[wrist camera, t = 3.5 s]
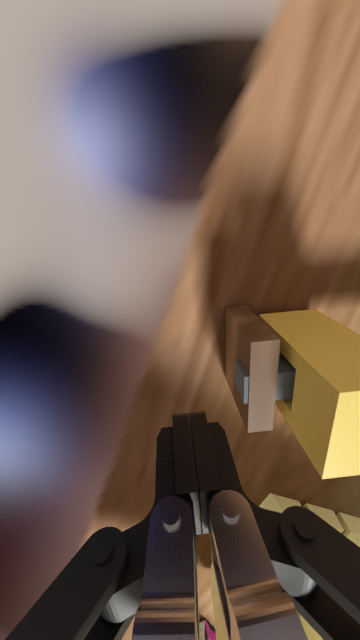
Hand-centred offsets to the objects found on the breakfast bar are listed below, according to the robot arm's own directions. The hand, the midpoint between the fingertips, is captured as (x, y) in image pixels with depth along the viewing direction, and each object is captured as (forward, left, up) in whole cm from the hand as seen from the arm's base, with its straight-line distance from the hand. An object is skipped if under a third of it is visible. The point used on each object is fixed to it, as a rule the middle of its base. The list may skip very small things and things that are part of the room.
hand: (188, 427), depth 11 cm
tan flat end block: (-4, 0, -7) cm, 9 cm away
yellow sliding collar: (-8, 0, -8) cm, 11 cm away
